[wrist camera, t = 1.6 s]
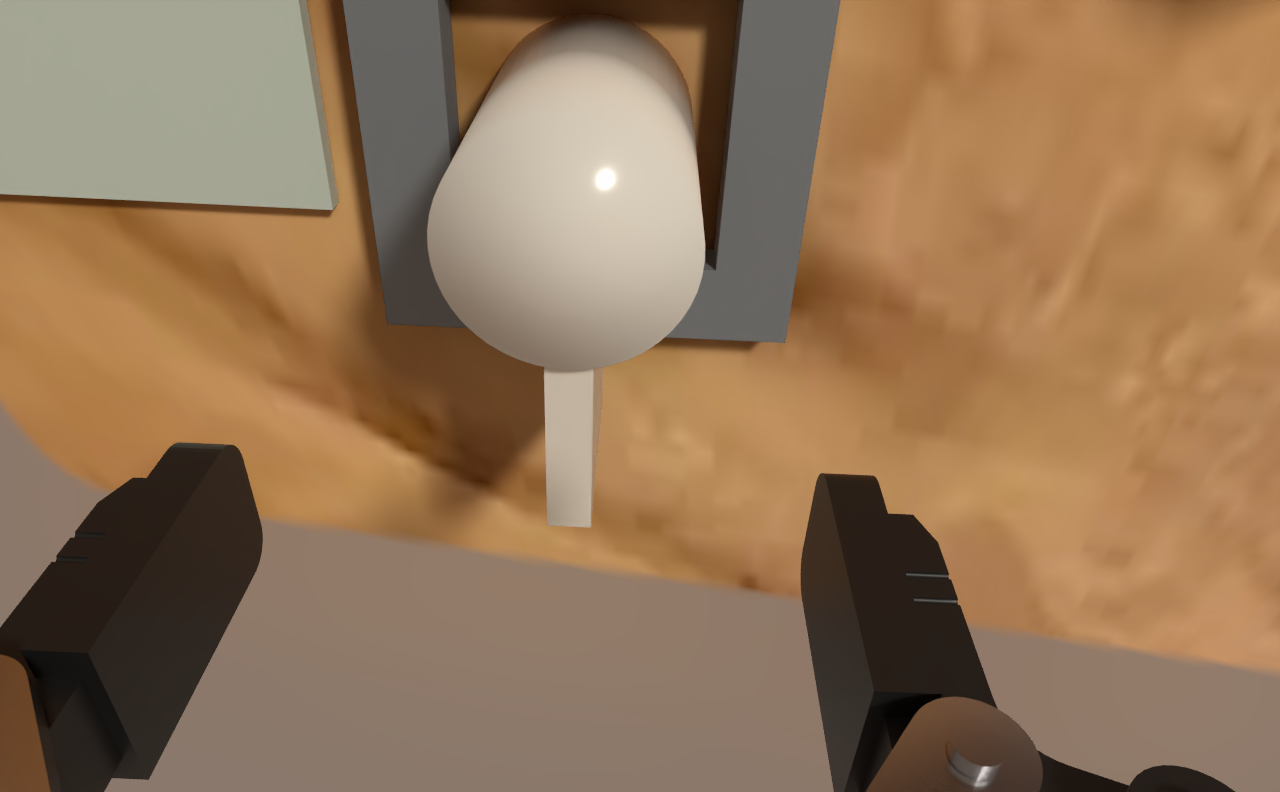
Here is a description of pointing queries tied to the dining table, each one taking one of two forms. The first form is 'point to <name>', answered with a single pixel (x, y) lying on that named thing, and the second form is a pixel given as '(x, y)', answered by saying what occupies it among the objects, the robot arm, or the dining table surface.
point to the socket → (750, 177)
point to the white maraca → (574, 223)
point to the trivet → (163, 102)
